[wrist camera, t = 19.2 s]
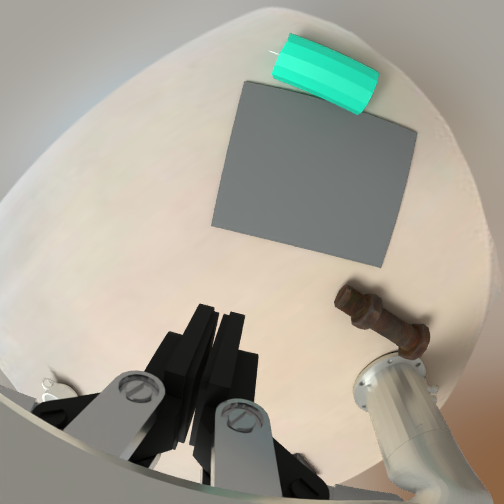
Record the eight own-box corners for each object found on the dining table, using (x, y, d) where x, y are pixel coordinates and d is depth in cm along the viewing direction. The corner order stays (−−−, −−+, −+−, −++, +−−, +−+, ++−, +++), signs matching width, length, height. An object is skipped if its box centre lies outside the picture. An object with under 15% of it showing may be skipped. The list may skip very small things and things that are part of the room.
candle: (371, 73, 30) (280, 33, 29) (383, 69, 24) (275, 23, 24) (353, 113, 33) (262, 74, 32) (362, 117, 28) (255, 71, 27)
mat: (415, 133, 32) (417, 132, 31) (379, 266, 37) (380, 267, 36) (244, 82, 32) (244, 81, 31) (212, 225, 37) (211, 226, 36)
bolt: (338, 279, 40) (411, 328, 41) (322, 312, 39) (398, 358, 39) (359, 274, 34) (436, 328, 35) (341, 312, 33) (423, 362, 34)
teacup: (91, 403, 49) (79, 420, 44) (72, 409, 50) (61, 424, 45) (59, 365, 47) (45, 381, 42) (43, 374, 48) (30, 388, 43)
